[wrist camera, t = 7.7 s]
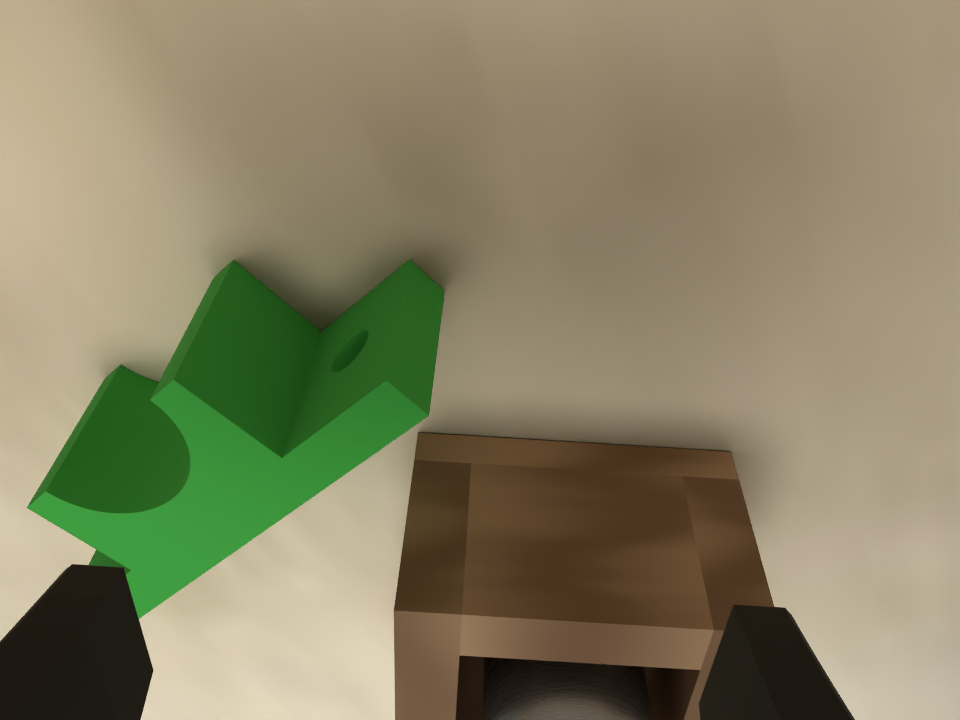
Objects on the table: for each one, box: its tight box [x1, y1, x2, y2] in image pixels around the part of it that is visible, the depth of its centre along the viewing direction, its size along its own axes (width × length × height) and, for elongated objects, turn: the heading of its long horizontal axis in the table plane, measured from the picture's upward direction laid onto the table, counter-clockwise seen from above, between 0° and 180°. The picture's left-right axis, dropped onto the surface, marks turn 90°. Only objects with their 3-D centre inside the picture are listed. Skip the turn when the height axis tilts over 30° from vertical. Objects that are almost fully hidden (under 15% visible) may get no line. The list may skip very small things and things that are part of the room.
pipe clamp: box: [27, 259, 445, 619], centre depth 20 cm, size 11×4×5 cm, turn 133°
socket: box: [394, 433, 774, 720], centre depth 23 cm, size 8×8×6 cm
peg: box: [483, 657, 652, 720], centre depth 21 cm, size 4×4×8 cm
